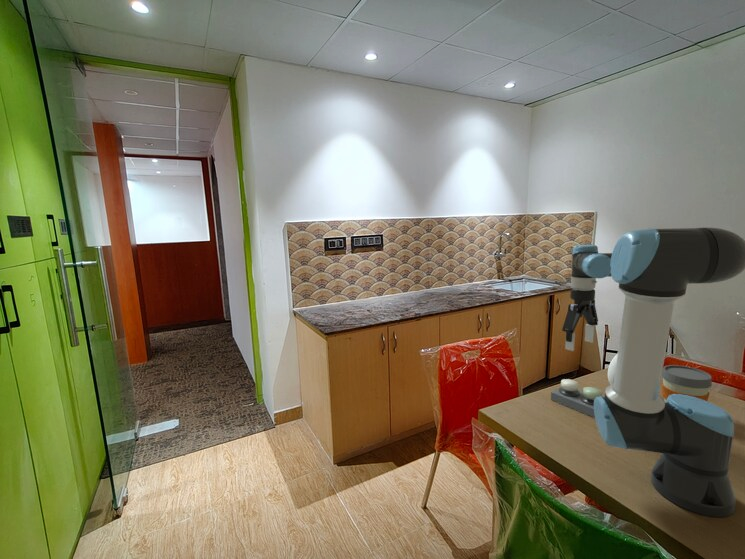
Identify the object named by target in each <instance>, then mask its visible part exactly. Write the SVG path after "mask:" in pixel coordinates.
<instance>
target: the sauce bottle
mask: <svg viewBox="0 0 745 559" xmlns="http://www.w3.org/2000/svg"><path fill="white" fill-rule="evenodd" d="M617 356H618V352H617V353H616V355H615V356H614V357H613V358H612V360H611V361H610V363H609V365H608V369H607V380H608V383H609V386H610V385H612V384H614V378H615V371H616V364H617Z"/></svg>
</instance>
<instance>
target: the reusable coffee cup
mask: <svg viewBox="0 0 745 559" xmlns="http://www.w3.org/2000/svg"><path fill="white" fill-rule="evenodd" d="M661 378H662V382H661V389H662V390H661V391H662V392H661V393H662V397H663V401H664V402H667V398H668V396H669V395H672V394H682V395H688V396H692V397H696V398H699V399H702V400H705V401H708V400H709V396H710V391H709V390H710V388H711V387H712V383H713V382H712V375H711V374H710V373H709V372H706V371H704V370H702V369H699V368H696V367H691V366H686V365H679V364H669V365H667V364H666V365H665V366H664V365H663V370H662V375H661Z"/></svg>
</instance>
